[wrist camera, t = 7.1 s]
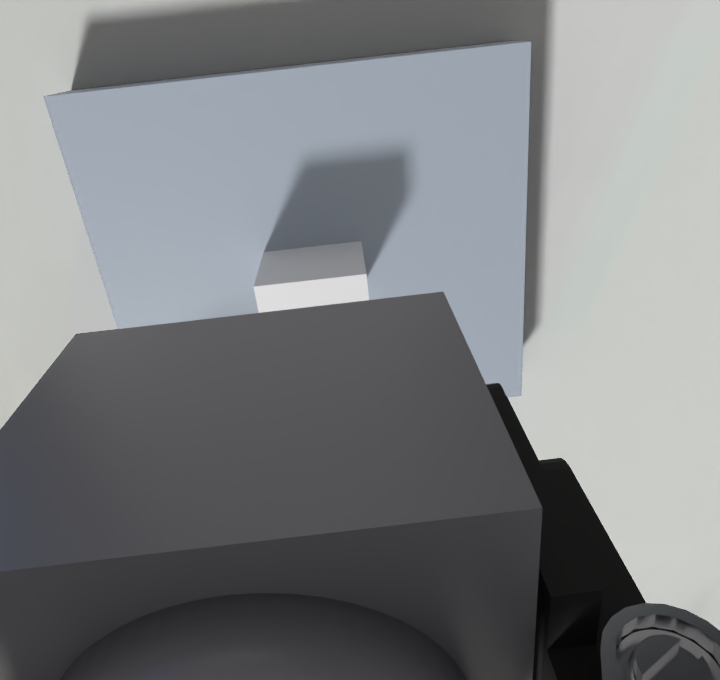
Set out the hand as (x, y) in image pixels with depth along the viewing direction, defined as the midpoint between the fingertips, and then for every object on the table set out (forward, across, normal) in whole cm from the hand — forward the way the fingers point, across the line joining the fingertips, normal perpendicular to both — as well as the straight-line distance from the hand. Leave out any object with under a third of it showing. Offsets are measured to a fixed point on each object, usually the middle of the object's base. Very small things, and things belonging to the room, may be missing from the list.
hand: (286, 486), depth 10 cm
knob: (+1, 0, 0) cm, 1 cm away
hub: (+13, 0, 0) cm, 13 cm away
